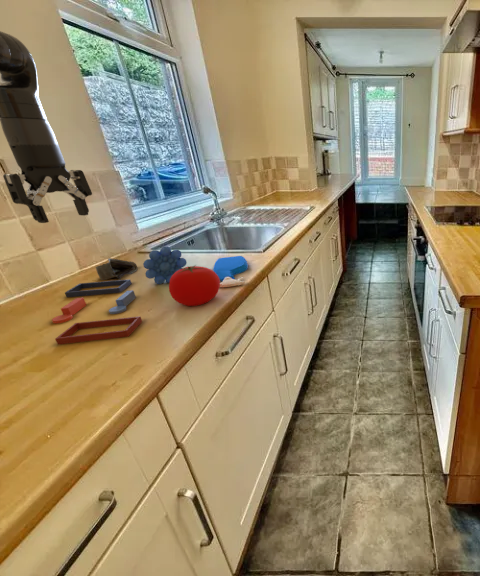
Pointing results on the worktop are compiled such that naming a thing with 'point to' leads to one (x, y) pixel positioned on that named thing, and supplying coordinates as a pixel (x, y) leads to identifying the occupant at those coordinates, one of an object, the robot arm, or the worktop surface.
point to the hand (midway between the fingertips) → (64, 218)
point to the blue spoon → (123, 302)
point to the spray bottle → (230, 270)
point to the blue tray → (75, 290)
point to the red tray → (67, 337)
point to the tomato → (194, 285)
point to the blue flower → (163, 264)
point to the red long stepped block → (70, 310)
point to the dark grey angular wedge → (115, 269)
